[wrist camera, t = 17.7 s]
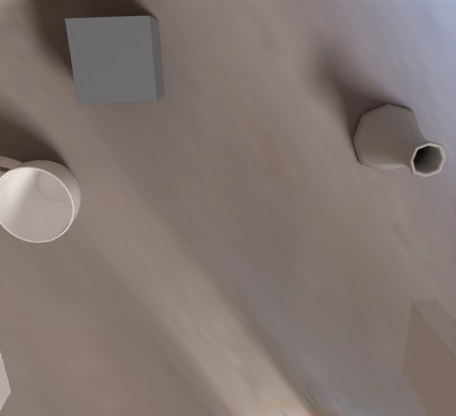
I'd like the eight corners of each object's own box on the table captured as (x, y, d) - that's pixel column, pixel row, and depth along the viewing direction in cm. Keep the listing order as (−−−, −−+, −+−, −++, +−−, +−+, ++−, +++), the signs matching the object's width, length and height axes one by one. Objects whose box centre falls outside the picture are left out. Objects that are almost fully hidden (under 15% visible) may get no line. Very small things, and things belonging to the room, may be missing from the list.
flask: (353, 105, 46) (389, 121, 36) (420, 100, 46) (474, 115, 36) (350, 171, 48) (384, 201, 39) (415, 167, 48) (463, 195, 39)
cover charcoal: (86, 22, 42) (64, 18, 36) (158, 20, 42) (149, 15, 36) (96, 96, 44) (77, 104, 38) (164, 93, 45) (157, 101, 39)
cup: (67, 230, 50) (46, 257, 43) (-13, 177, 47) (-47, 198, 41) (105, 179, 48) (89, 200, 41) (24, 121, 45) (-6, 134, 39)
